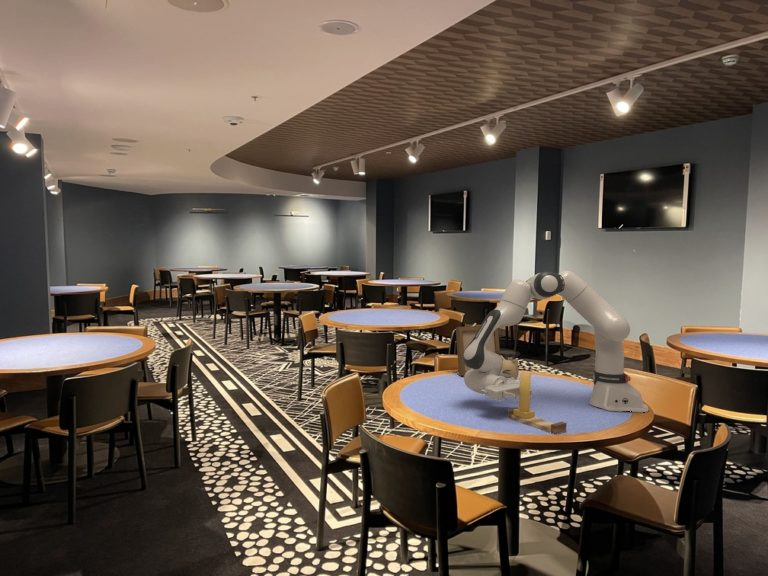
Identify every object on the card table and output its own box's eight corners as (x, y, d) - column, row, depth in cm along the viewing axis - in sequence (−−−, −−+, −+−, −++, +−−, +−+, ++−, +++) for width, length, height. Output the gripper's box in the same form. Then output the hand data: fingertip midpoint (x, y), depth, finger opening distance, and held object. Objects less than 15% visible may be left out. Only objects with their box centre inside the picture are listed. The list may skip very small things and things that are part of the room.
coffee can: (518, 381, 265) (519, 353, 264) (500, 382, 262) (501, 354, 261) (508, 376, 274) (509, 349, 273) (490, 377, 272) (491, 350, 271)
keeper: (513, 414, 205) (514, 373, 204) (522, 412, 208) (523, 371, 207) (525, 418, 200) (527, 376, 199) (534, 416, 203) (536, 374, 202)
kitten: (486, 386, 253) (487, 355, 252) (500, 384, 259) (501, 353, 258) (511, 394, 241) (512, 361, 240) (525, 390, 247) (526, 358, 246)
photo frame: (501, 375, 277) (502, 327, 275) (462, 377, 271) (463, 328, 270) (489, 369, 291) (490, 323, 290) (451, 371, 286) (452, 324, 284)
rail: (507, 417, 207) (508, 410, 206) (518, 415, 210) (518, 407, 210) (555, 434, 189) (555, 426, 188) (566, 431, 192) (566, 423, 192)
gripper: (478, 382, 209) (505, 390, 197) (514, 376, 220) (541, 383, 209) (477, 398, 209) (504, 407, 198) (513, 391, 221) (540, 399, 209)
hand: (523, 395), depth 204 cm, fingers open, 8 cm apart
